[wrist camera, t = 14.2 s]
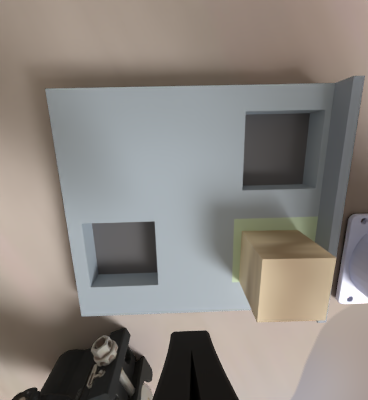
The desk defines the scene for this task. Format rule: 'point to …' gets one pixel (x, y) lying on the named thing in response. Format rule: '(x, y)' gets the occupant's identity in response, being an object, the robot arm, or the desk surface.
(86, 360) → the scope
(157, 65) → the desk surface
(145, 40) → the desk surface
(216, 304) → the board
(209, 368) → the robot arm
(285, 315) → the block
